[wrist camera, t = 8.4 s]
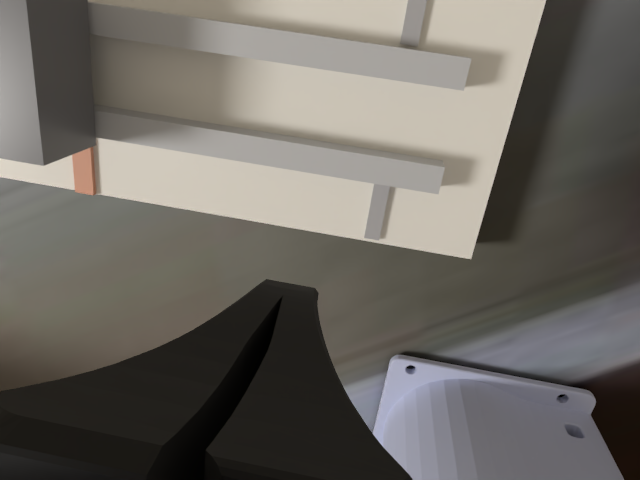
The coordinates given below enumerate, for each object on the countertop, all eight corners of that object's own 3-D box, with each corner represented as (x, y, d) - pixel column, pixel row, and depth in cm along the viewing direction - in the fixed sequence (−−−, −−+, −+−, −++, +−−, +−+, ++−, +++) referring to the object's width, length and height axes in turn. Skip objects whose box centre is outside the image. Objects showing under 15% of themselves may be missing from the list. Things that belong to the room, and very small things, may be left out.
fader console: (539, -21, 16) (563, -29, 14) (465, 244, 21) (474, 270, 18) (-63, -102, 18) (-128, -121, 16) (-20, 160, 22) (-67, 175, 20)
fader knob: (103, -3, 17) (21, -12, 13) (110, 139, 19) (40, 167, 15) (-5, -19, 17) (-116, -32, 13) (14, 123, 19) (-79, 146, 15)
